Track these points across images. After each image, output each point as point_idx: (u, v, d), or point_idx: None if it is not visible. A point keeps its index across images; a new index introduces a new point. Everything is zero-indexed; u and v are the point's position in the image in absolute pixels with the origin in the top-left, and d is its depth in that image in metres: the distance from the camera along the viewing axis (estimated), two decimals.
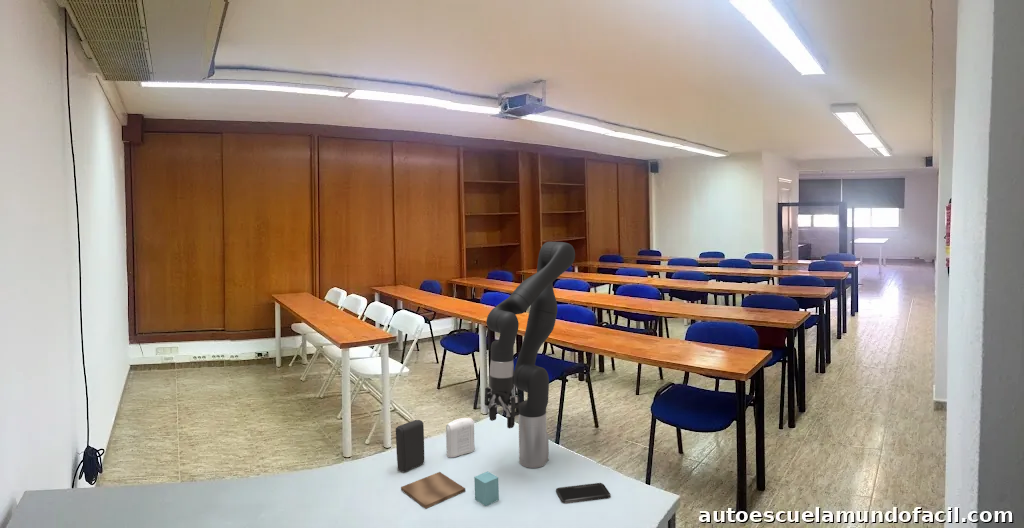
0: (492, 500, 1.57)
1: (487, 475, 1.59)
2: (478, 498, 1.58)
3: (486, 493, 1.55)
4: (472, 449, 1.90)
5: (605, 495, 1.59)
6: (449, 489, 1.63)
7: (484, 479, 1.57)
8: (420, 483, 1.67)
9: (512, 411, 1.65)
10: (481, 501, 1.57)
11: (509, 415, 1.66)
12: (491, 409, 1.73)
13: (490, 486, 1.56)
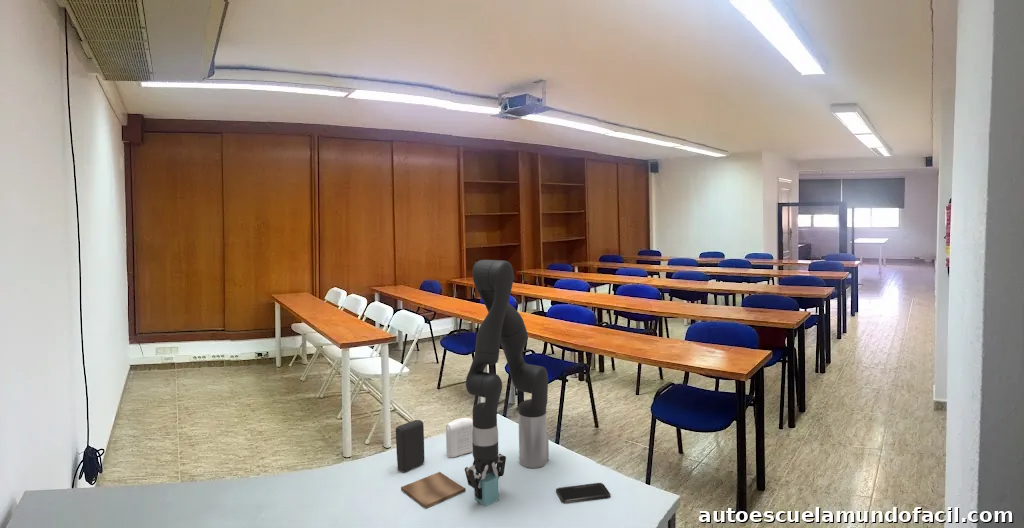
0: (492, 500, 1.57)
1: (487, 475, 1.59)
2: None
3: (486, 493, 1.55)
4: (472, 449, 1.90)
5: (605, 495, 1.59)
6: (449, 489, 1.63)
7: None
8: (420, 483, 1.67)
9: (502, 471, 1.61)
10: (481, 501, 1.57)
11: (498, 478, 1.60)
12: (480, 487, 1.56)
13: (490, 486, 1.56)
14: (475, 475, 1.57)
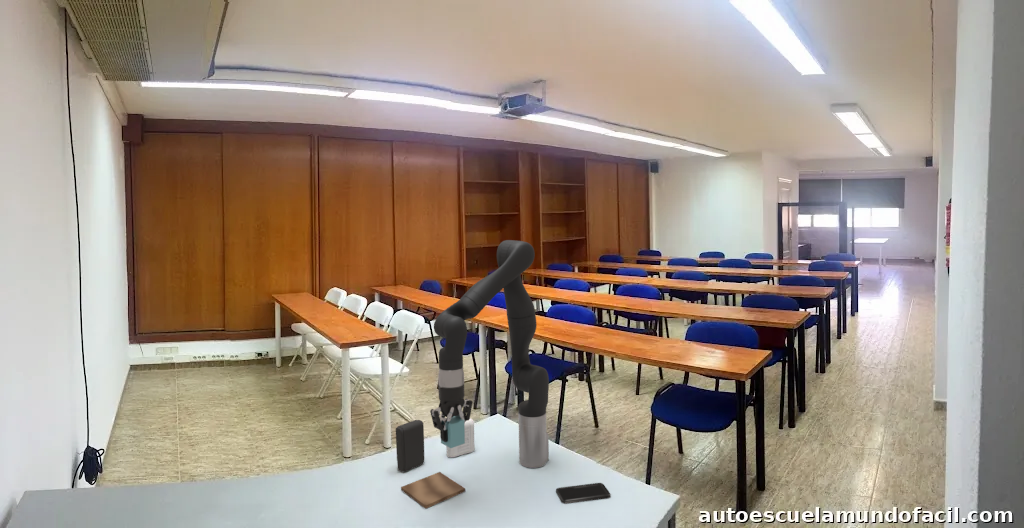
0: (458, 443, 1.58)
1: (453, 419, 1.60)
2: None
3: (451, 435, 1.56)
4: (472, 449, 1.90)
5: (605, 495, 1.59)
6: (449, 489, 1.63)
7: (450, 421, 1.58)
8: (420, 483, 1.67)
9: (468, 415, 1.62)
10: (447, 444, 1.58)
11: (464, 422, 1.61)
12: (446, 429, 1.57)
13: (455, 428, 1.57)
14: (441, 418, 1.58)
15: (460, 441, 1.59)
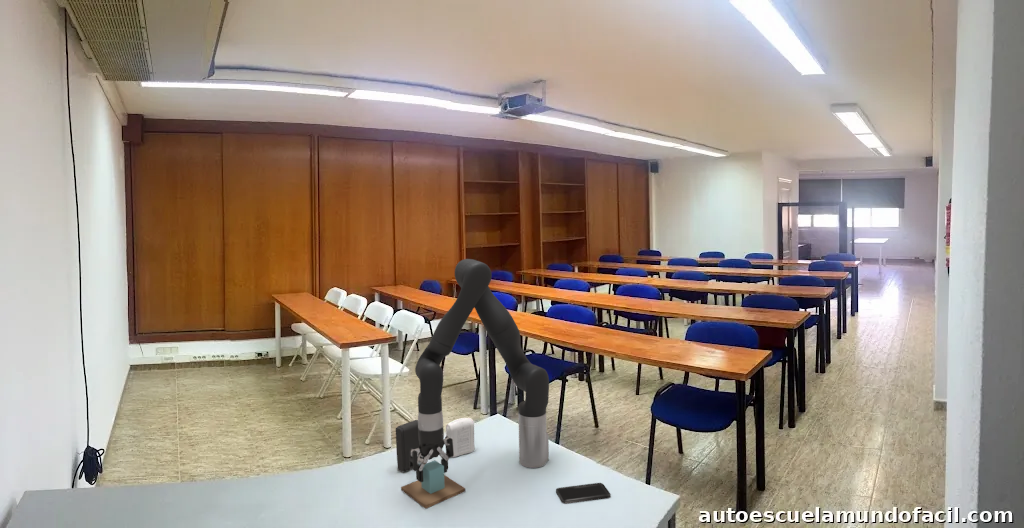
0: (437, 488, 1.62)
1: (434, 464, 1.64)
2: (424, 486, 1.63)
3: (431, 481, 1.61)
4: (472, 449, 1.90)
5: (605, 495, 1.59)
6: (449, 489, 1.63)
7: (430, 467, 1.62)
8: (420, 483, 1.67)
9: (451, 452, 1.67)
10: (427, 489, 1.62)
11: (447, 458, 1.66)
12: (421, 470, 1.60)
13: (435, 474, 1.61)
14: (418, 458, 1.62)
15: (440, 486, 1.63)
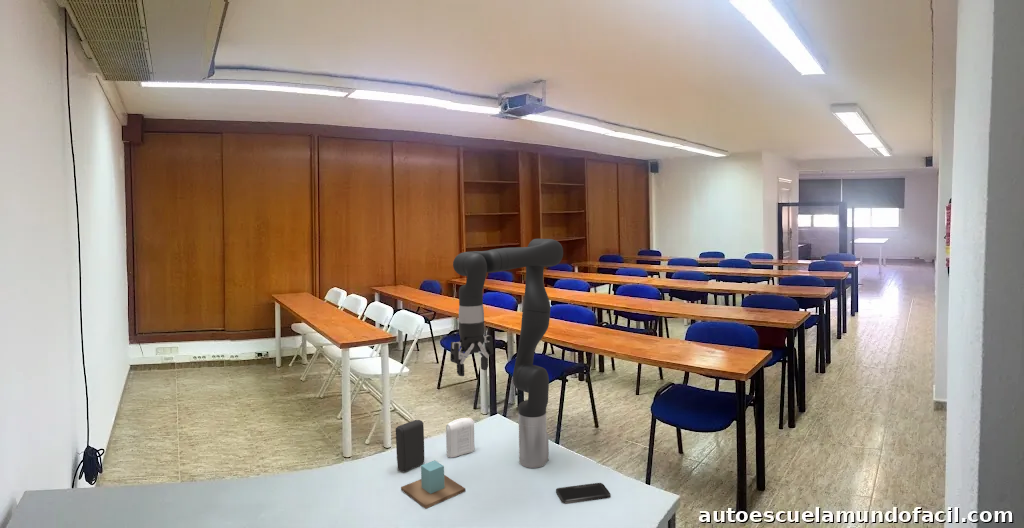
0: (437, 488, 1.62)
1: (434, 464, 1.64)
2: (424, 486, 1.63)
3: (431, 481, 1.61)
4: (472, 449, 1.90)
5: (605, 495, 1.59)
6: (449, 489, 1.63)
7: (430, 467, 1.62)
8: (420, 483, 1.67)
9: (491, 349, 1.65)
10: (427, 489, 1.62)
11: (487, 355, 1.64)
12: (462, 363, 1.59)
13: (435, 474, 1.61)
14: (459, 353, 1.60)
15: (440, 486, 1.63)
